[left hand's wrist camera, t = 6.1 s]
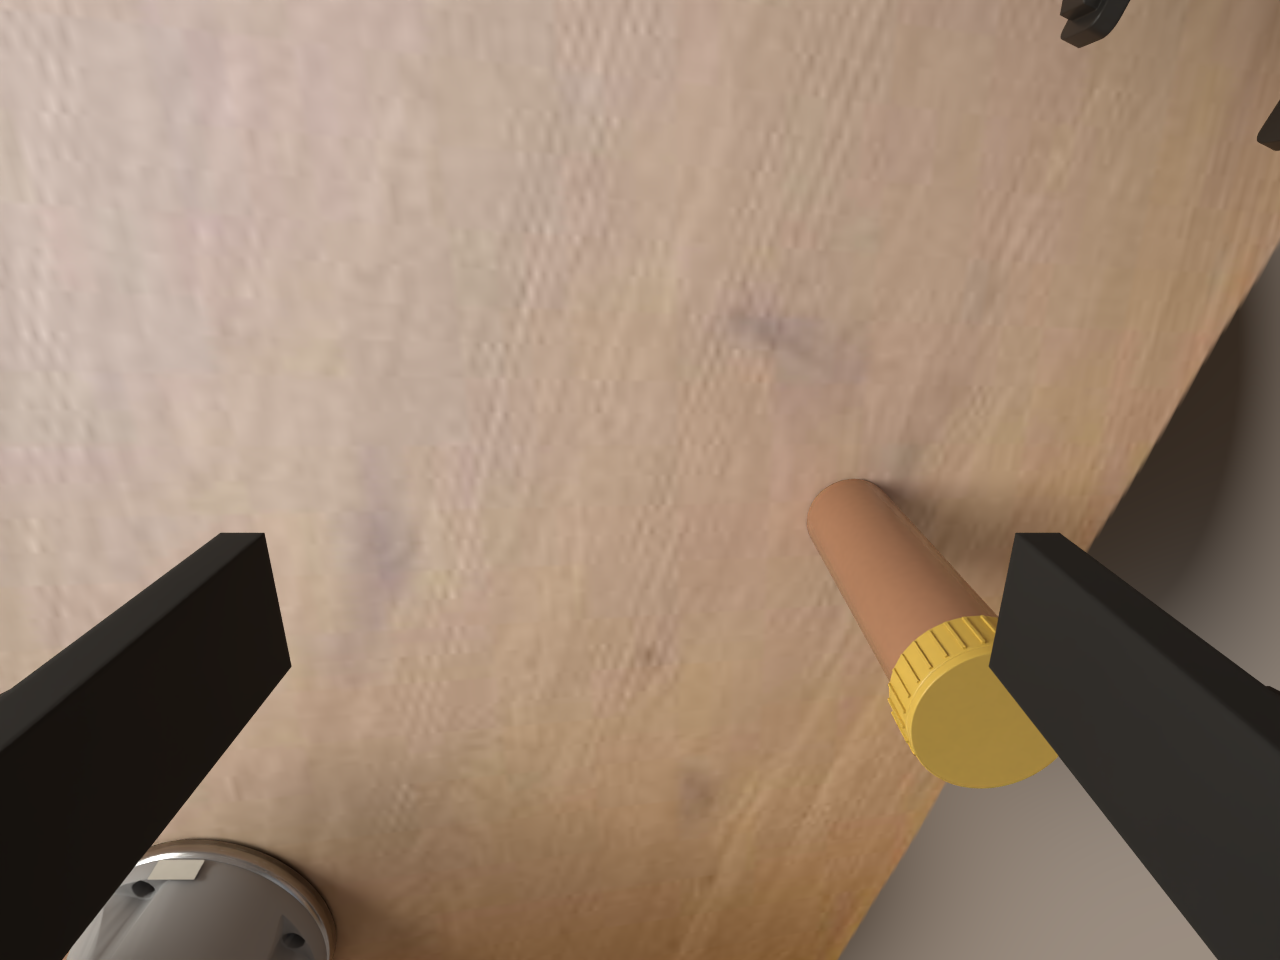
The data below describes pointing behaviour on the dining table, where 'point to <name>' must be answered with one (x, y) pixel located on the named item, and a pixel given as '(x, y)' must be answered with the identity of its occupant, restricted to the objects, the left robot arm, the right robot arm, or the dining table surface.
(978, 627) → the lid
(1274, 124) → the right robot arm
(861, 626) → the jar
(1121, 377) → the dining table surface
